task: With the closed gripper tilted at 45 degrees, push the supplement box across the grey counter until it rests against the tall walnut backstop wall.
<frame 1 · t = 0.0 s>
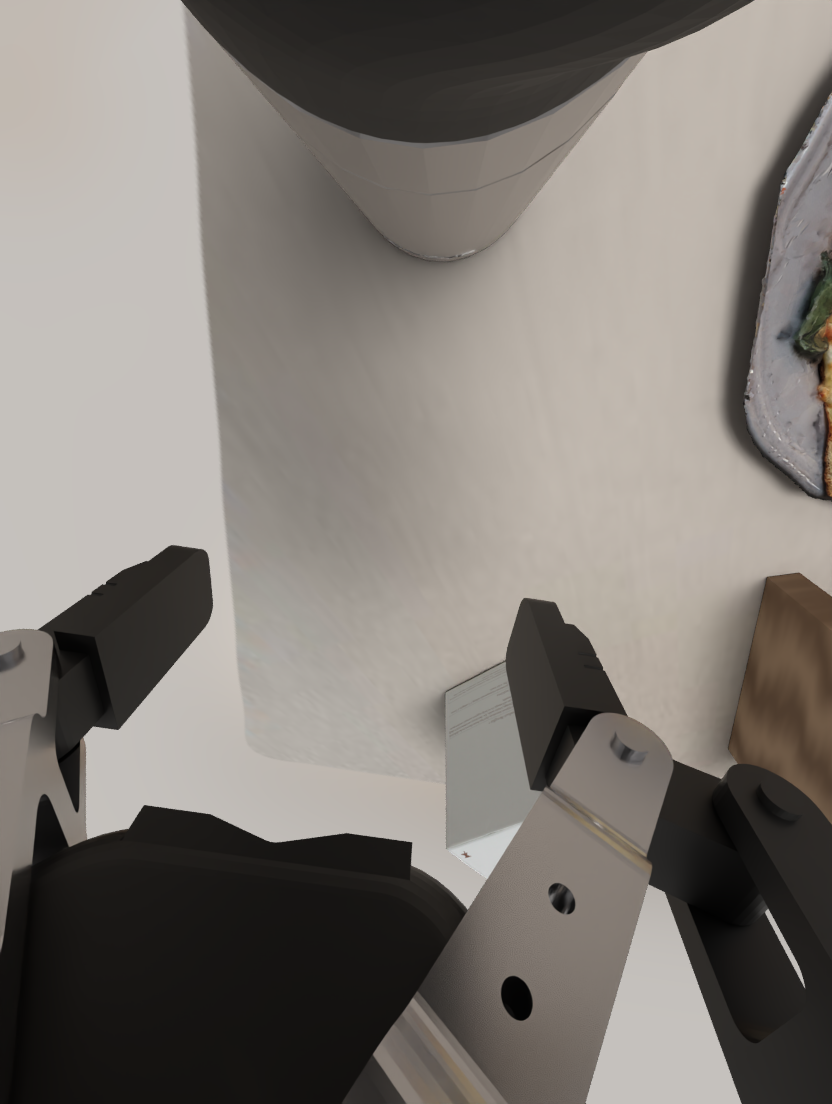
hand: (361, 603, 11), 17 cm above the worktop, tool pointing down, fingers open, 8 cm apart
supplement box: (501, 696, 37), on the worktop
walnut backstop: (816, 740, 28), on the worktop
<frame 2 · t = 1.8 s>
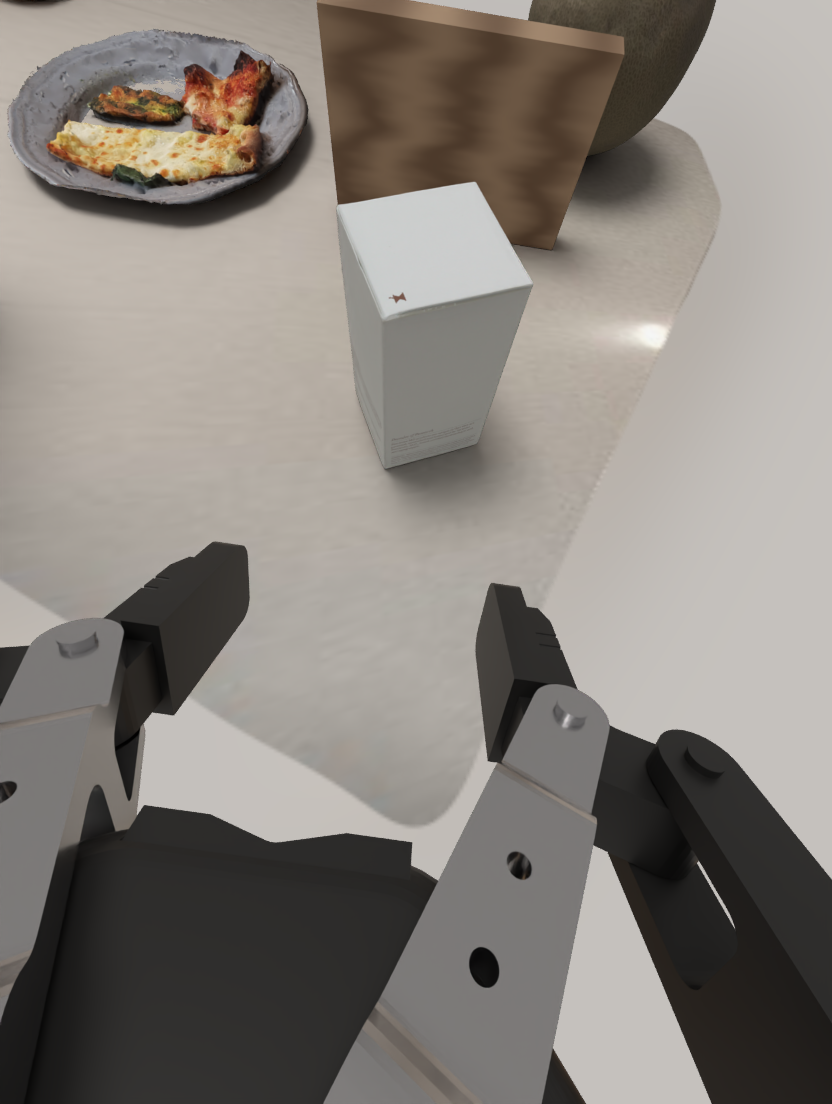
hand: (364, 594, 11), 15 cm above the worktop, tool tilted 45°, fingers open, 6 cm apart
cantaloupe: (570, 155, 42), on the worktop
food plate: (175, 139, 39), on the worktop
supplement box: (415, 418, 31), on the worktop
walnut backstop: (457, 141, 31), on the worktop
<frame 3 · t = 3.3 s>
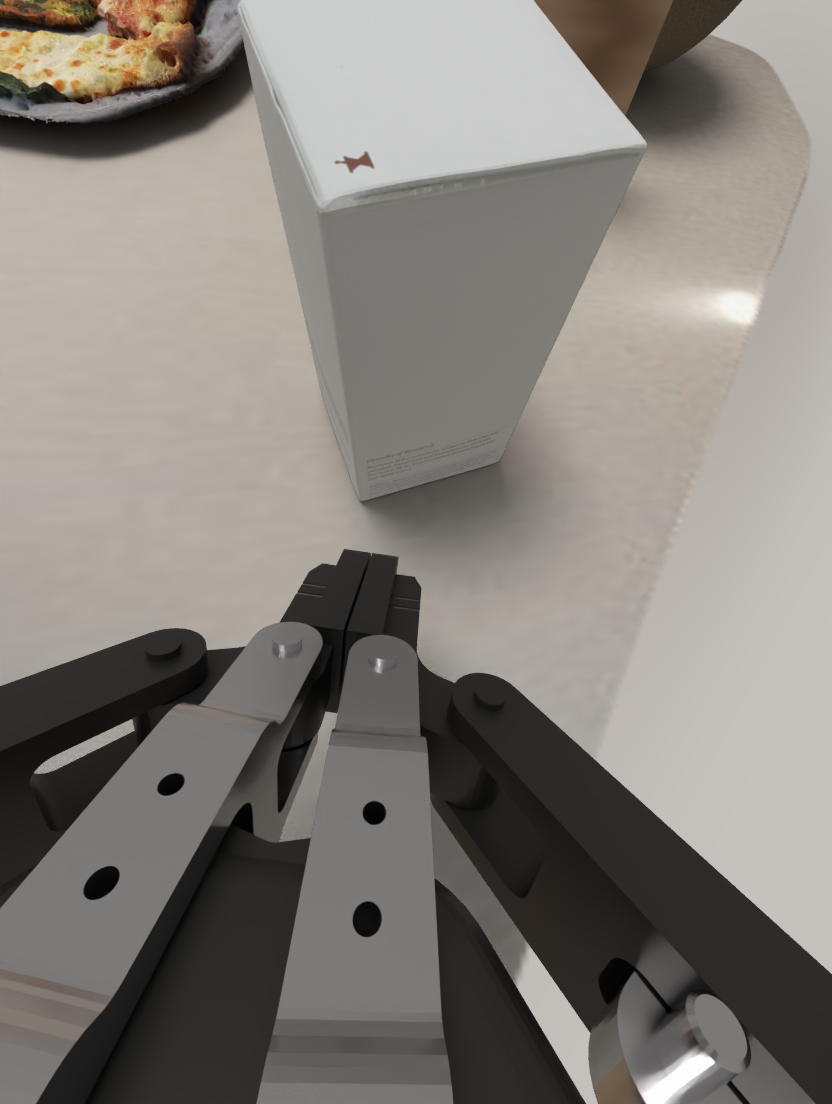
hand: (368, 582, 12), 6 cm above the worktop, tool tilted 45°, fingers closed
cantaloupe: (610, 78, 32), on the worktop
food plate: (86, 51, 29), on the worktop
supplement box: (407, 423, 21), on the worktop
walnut backstop: (467, 20, 22), on the worktop
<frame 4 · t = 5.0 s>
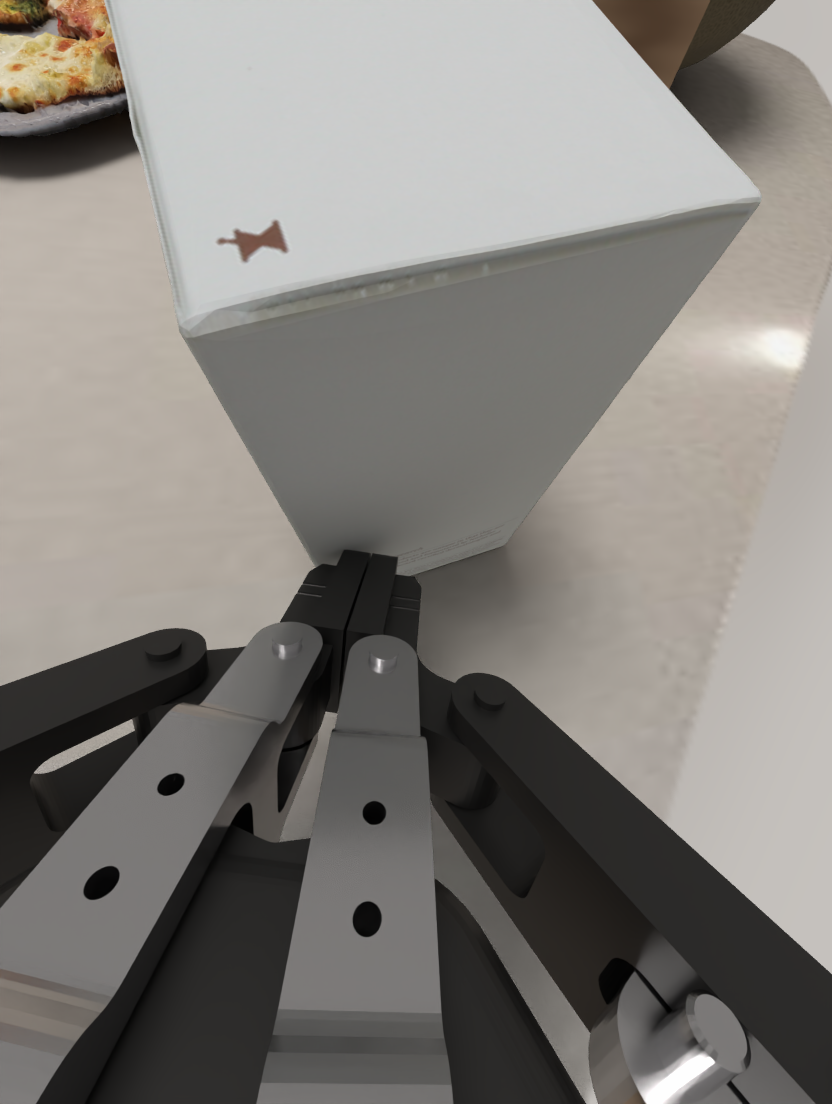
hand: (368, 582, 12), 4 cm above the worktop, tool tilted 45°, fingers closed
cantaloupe: (627, 81, 28), on the worktop
food plate: (35, 53, 26), on the worktop
supplement box: (394, 495, 18), on the worktop, touching gripper
walnut backstop: (464, 15, 18), on the worktop
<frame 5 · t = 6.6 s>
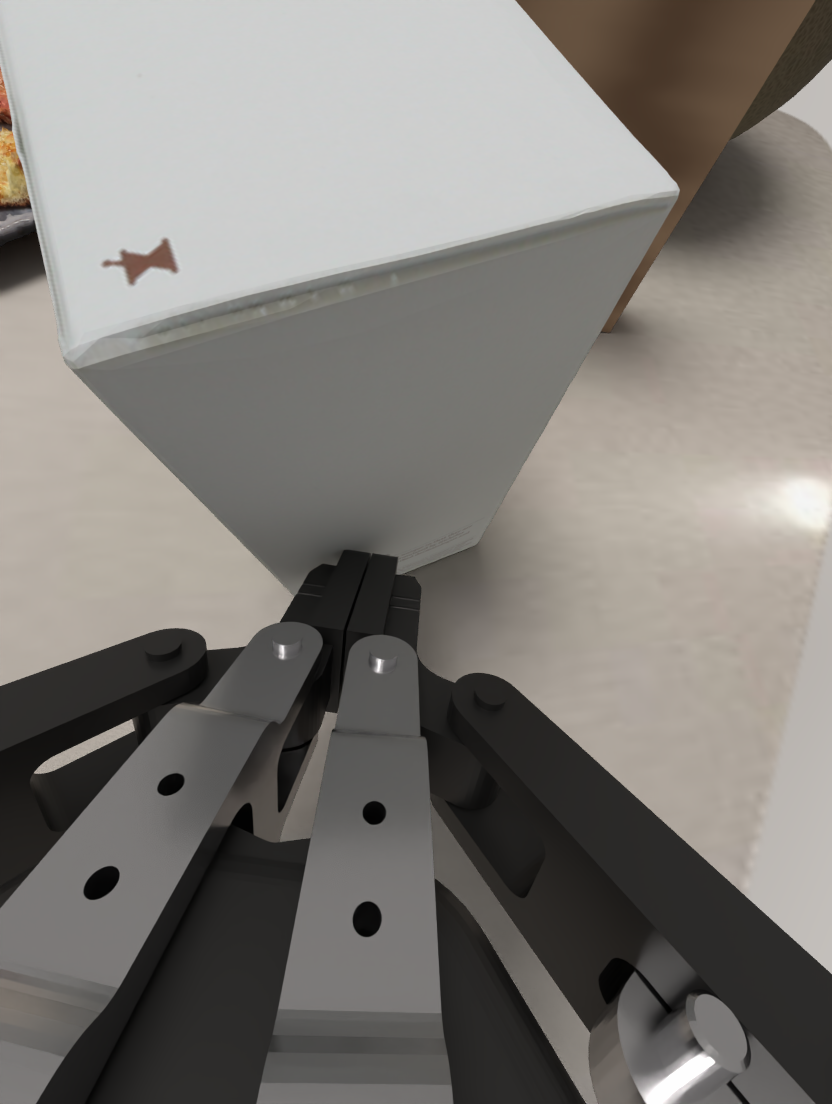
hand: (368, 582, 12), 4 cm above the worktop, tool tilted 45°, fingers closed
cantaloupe: (627, 162, 25), on the worktop
supplement box: (364, 500, 17), on the worktop, touching gripper
walnut backstop: (435, 139, 15), on the worktop
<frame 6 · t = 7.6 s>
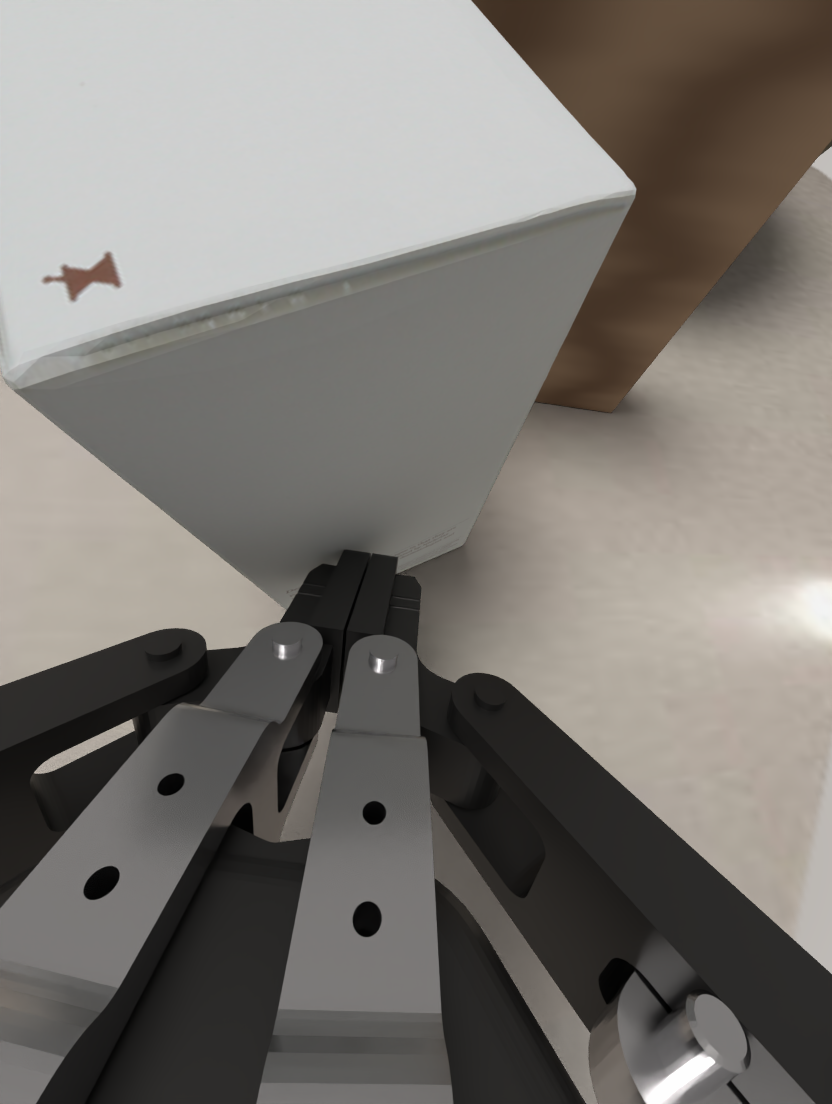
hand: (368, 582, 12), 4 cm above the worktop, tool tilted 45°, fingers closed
supplement box: (349, 504, 17), on the worktop, touching gripper
walnut backstop: (418, 230, 14), on the worktop
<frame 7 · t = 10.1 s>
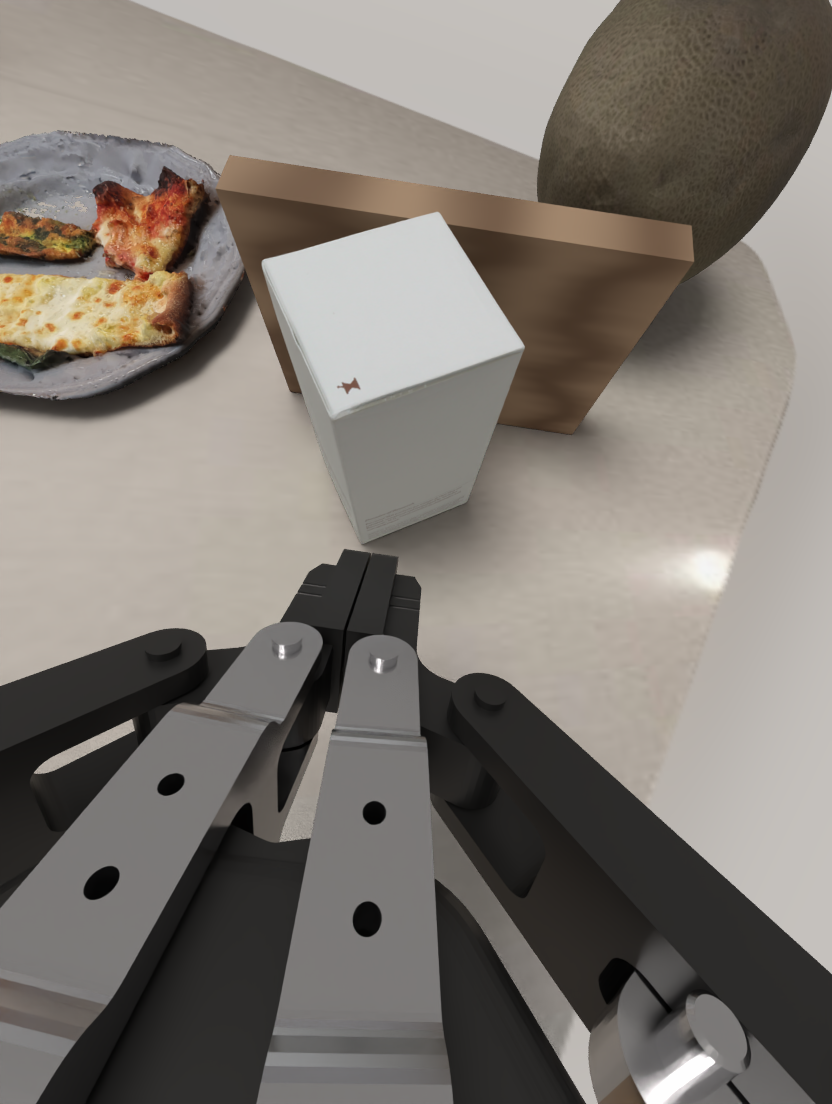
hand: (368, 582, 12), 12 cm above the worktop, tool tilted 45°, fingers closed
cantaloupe: (596, 284, 32), on the worktop
food plate: (85, 278, 31), on the worktop
supplement box: (393, 476, 27), on the worktop
walnut backstop: (441, 328, 22), on the worktop
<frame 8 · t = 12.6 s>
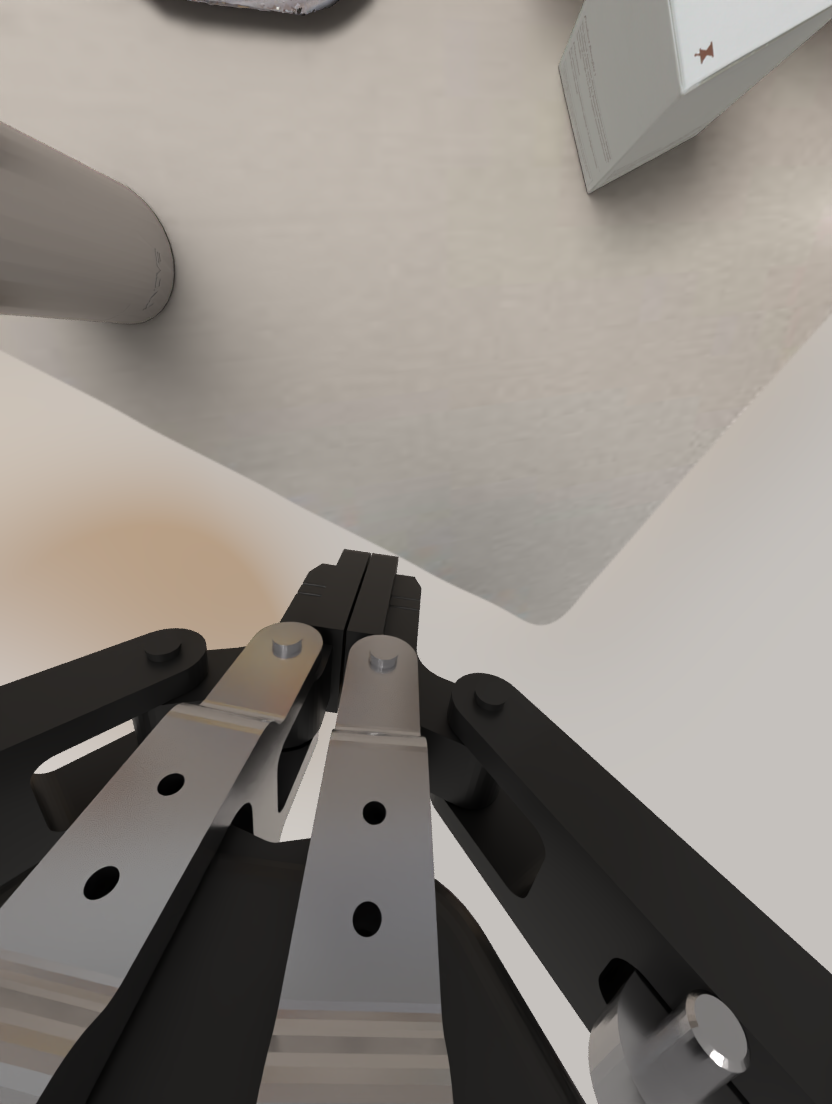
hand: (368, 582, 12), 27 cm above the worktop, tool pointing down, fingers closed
supplement box: (627, 100, 27), on the worktop
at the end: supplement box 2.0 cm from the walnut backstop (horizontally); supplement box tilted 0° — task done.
